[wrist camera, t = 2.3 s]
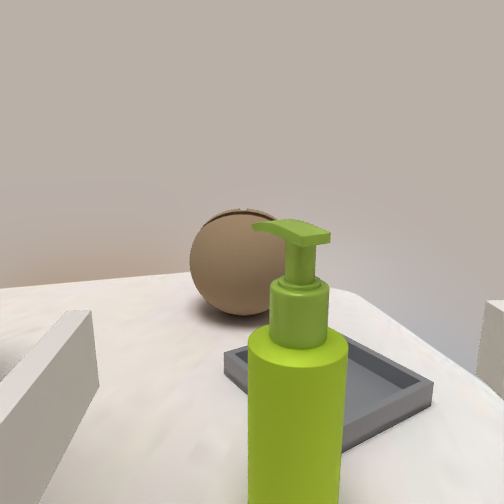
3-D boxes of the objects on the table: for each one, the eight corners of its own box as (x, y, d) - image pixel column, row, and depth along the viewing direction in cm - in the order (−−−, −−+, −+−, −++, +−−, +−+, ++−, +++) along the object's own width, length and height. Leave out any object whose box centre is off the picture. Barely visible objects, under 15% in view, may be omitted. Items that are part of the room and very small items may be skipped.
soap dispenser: (293, 464, 34) (301, 210, 29) (355, 532, 28) (380, 230, 23) (225, 495, 31) (220, 219, 26) (279, 577, 25) (287, 244, 20)
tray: (224, 373, 47) (223, 352, 46) (320, 341, 54) (320, 323, 53) (322, 462, 34) (324, 435, 34) (430, 405, 41) (433, 382, 41)
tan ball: (317, 313, 62) (322, 209, 59) (236, 345, 53) (235, 224, 49) (249, 286, 73) (249, 197, 69) (172, 309, 64) (166, 207, 60)
